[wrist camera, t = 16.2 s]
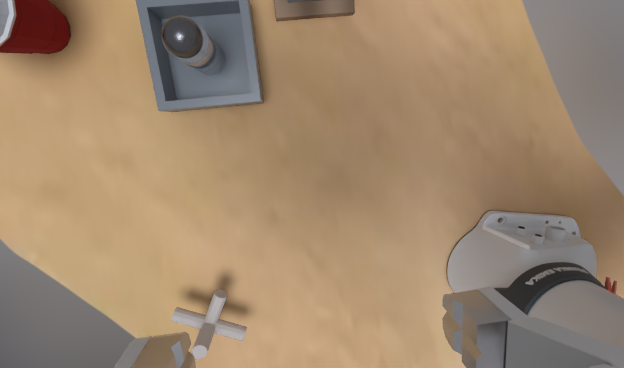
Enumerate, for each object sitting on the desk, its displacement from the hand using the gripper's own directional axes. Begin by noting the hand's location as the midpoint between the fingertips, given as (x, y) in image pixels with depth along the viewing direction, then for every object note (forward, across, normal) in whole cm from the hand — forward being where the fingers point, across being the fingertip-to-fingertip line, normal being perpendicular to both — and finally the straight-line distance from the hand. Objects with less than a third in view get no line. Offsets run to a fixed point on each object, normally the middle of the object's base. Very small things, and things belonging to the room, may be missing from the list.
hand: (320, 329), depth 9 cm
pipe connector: (+34, +14, +20) cm, 42 cm away
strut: (+33, +9, -15) cm, 38 cm away
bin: (+34, +9, -15) cm, 38 cm away
